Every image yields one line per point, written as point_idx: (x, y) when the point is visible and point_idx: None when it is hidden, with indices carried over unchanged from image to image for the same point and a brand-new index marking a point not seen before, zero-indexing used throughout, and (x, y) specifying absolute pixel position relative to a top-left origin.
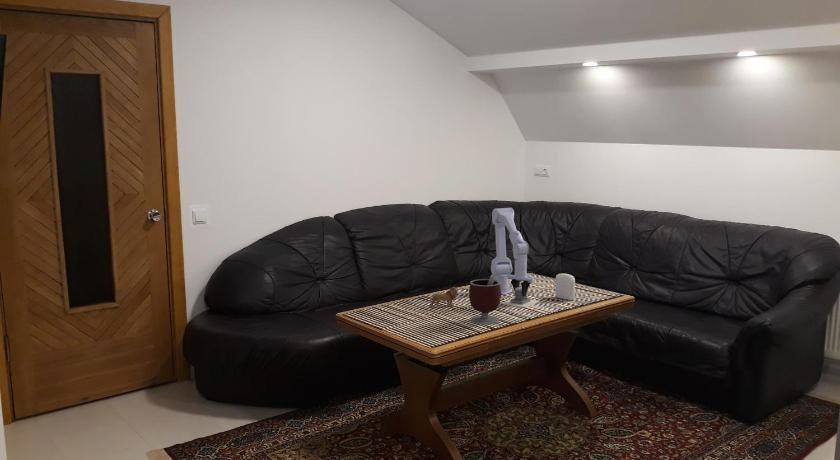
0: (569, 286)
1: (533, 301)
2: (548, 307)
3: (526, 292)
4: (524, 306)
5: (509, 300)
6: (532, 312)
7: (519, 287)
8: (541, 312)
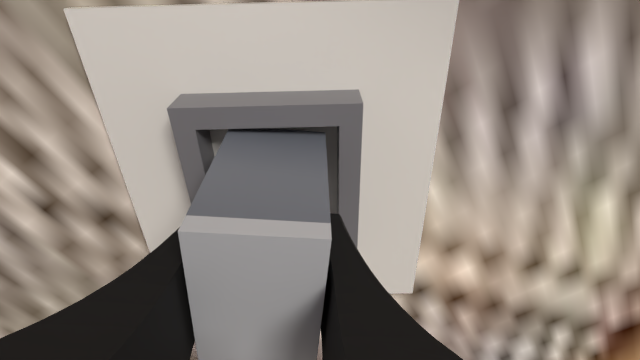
0: None
1: (398, 80)
2: (617, 174)
3: (351, 240)
4: (396, 285)
5: (145, 194)
6: (503, 343)
7: (204, 289)
8: (571, 317)
